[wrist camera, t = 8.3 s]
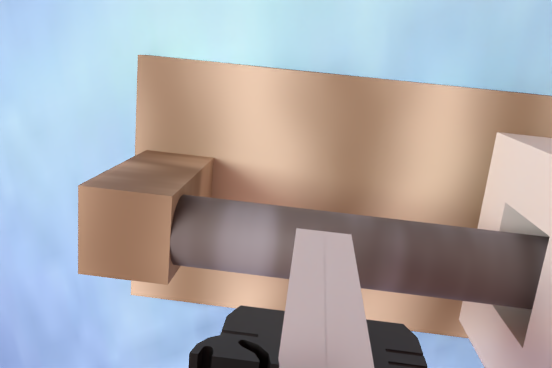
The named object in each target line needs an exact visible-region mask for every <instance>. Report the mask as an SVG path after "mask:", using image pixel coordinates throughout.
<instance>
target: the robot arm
mask: <svg viewBox="0 0 552 368" xmlns="http://www.w3.org/2000/svg"><path fill="white" fill-rule="evenodd" d="M189 368H427V364H426V361H425V358H424V356H423V352H422V349H421V346H420V343H419V341H418V338H417V337H416V336H415V335H414V334H413V333H412V332H411V331H410V330H409V329H408V328H407V327H406V326H405V325H404V324H399V323H391V322H383V321H375V320H367V319H366V316H365V310H364V305H363V299H362V293H361V287H360V281H359V276H358V270H357V264H356V258H355V252H354V247H353V241H352V235H351V234H343V233H334V232H326V231H317V230H308V229H300V228H296V235H295V242H294V249H293V256H292V264H291V271H290V278H289V285H288V292H287V300H286V307H285V311H282V310H274V309H266V308H258V307H250V306H242V305H241V306H239V307H238V308H237V309H235V310H234V311H233V312H231V313H230V314H229V315H228V316H227V318H226V320H225V323H224V326H223V329H222V332H221V334H220V335H219V336H215V337H210V338H208V339H206V340H204V341H202V342H200V343H198V344H197V345H196V346H195V347H194V348H193V349H192V351H191V352H190V354H189Z"/></svg>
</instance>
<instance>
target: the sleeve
mask: <svg viewBox="0 0 552 368" xmlns="http://www.w3.org/2000/svg"><path fill="white" fill-rule="evenodd" d="M477 229H485V230H493V231H502V232H510V233H519V234H528V235H536V236H545V237H550V238H549V242H548V246H547V250H546V254H545V258H544V263H543V267H542V271H541V275H540V279H539V283H538V287H537V292H536V296H535V300H534V304H533V308H532V309H524V308H516V307H508V306H500V305H492V304H484V303H476V302H468V301H463V302H462V307H461V312H460V316H459V321H460V323H461V324H462V326H463V328H464V330H465V332H466V334H467V336H468V337H469V339H470V341H471V343H472V345H473V347H474V349H475V351H476V352H477V354H478V356H479V358H480V360H481V362H482V364H483V365H484V367H485V368H552V138H547V137H538V136H528V135H519V134H510V133H500V132H497V134H496V139H495V144H494V149H493V154H492V159H491V164H490V169H489V174H488V179H487V184H486V189H485V193H484V198H483V203H482V208H481V213H480V218H479V223H478V228H477Z"/></svg>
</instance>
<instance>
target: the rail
mask: <svg viewBox="0 0 552 368" xmlns="http://www.w3.org/2000/svg"><path fill="white" fill-rule="evenodd" d="M497 132H500V133H510V134H519V135H528V136H538V137H547V138H552V96H547V95H537V94H528V93H518V92H508V91H498V90H488V89H478V88H468V87H458V86H448V85H438V84H429V83H419V82H409V81H399V80H389V79H379V78H369V77H359V76H349V75H339V74H329V73H320V72H310V71H300V70H290V69H280V68H270V67H260V66H250V65H240V64H230V63H220V62H211V61H201V60H191V59H181V58H171V57H161V56H151V55H138V72H137V106H136V140H135V156H134V157H132V158H130V159H128V160H126V161H124V162H122V163H121V164H119V165H117V166H115V167H113V168H111V169H109V170H107V171H105V172H103V173H101V174H99V175H98V176H96V177H94V178H92V179H90V180H88V181H86V182H84V183H82V184H80V185H78V274H85V275H93V276H101V277H108V278H116V279H124V280H131V295H137V296H145V297H152V298H160V299H168V300H176V301H184V302H191V303H199V304H207V305H215V306H222V307H230V308H238V307H239V306H241V305H242V306H250V307H258V308H266V309H274V310H282V311H285V307H286V300H287V292H288V285H289V278H290V271H291V264H292V256H293V249H294V242H295V235H296V228H300V229H308V230H317V231H326V232H334V233H343V234H351V235H352V241H353V247H354V252H355V258H356V264H357V270H358V276H359V281H360V287H361V293H362V299H363V305H364V310H365V316H366V319H367V320H375V321H383V322H391V323H399V324H404V325H405V326H406V327H407V328H408V329H409V330H410V331H417V332H425V333H432V334H440V335H448V336H456V337H463V338H469V337H468V336H467V334H466V332H465V330H464V328H463V326H462V324H461V323H460V321H459V316H460V312H461V307H462V302H463V301H468V302H476V303H484V304H492V305H500V306H508V307H516V308H524V309H532V308H533V304H534V300H535V296H536V292H537V287H538V283H539V279H540V275H541V271H542V267H543V263H544V258H545V254H546V250H547V246H548V242H549V238H550V237H545V236H536V235H528V234H519V233H510V232H502V231H493V230H485V229H477V228H478V223H479V218H480V213H481V208H482V203H483V198H484V193H485V189H486V184H487V179H488V174H489V169H490V164H491V159H492V154H493V149H494V144H495V139H496V134H497Z"/></svg>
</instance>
